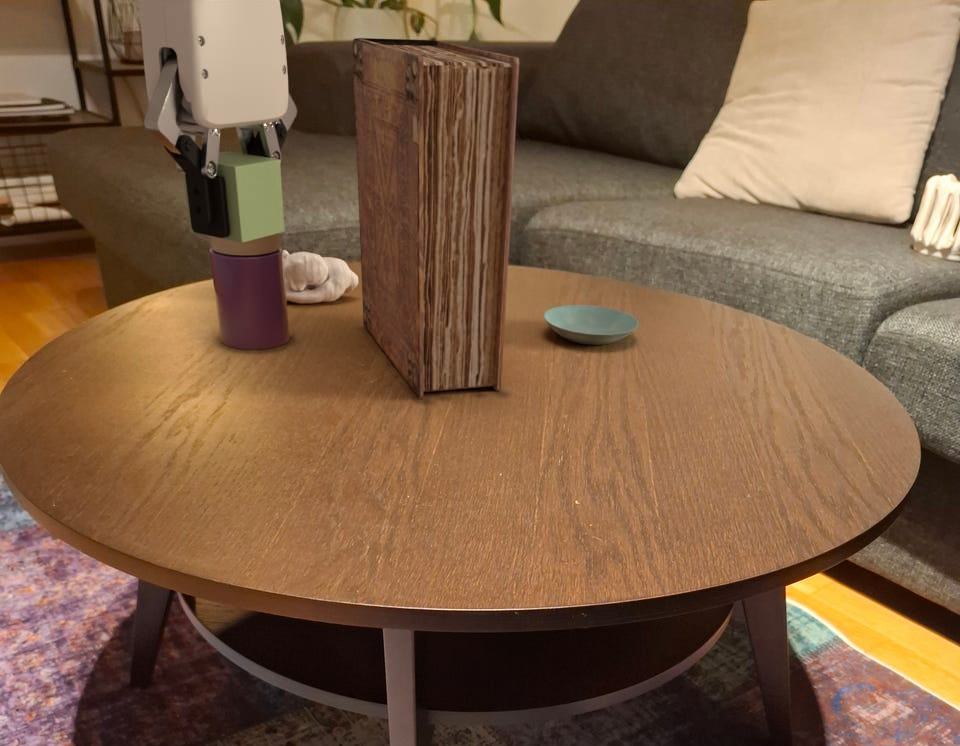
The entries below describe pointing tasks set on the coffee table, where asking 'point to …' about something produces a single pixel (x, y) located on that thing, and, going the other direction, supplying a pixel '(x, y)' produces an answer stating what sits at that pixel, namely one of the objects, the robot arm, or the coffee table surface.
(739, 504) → the coffee table surface
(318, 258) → the baby figurine
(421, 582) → the coffee table surface
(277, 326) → the jar
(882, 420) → the coffee table surface
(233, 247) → the jar lid
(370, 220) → the book
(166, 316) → the coffee table surface
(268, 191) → the block
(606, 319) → the saucer
